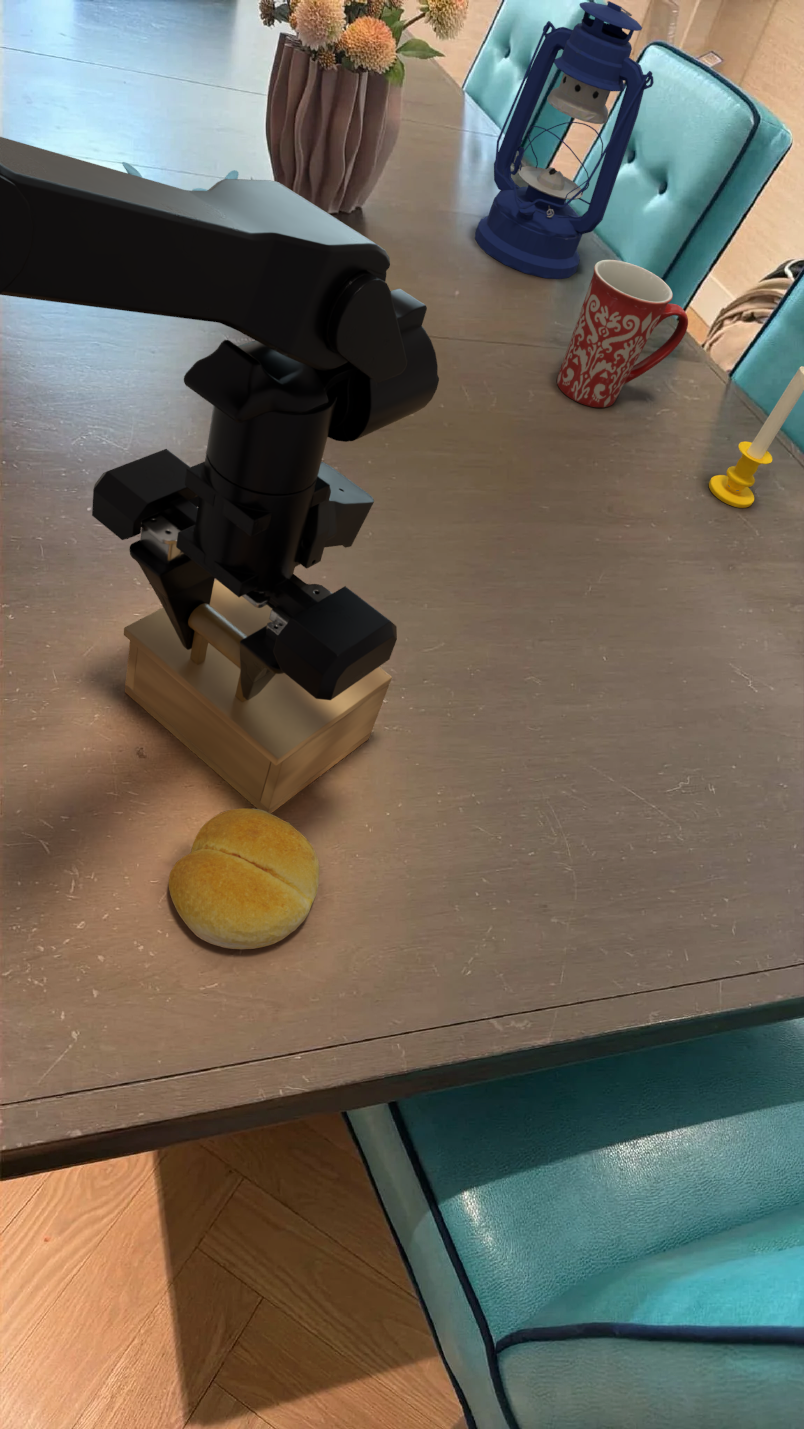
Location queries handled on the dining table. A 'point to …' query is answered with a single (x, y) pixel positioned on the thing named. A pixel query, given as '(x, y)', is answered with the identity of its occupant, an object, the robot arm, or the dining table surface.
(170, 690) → the storage box
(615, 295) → the mug
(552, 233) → the lantern
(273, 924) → the bread roll
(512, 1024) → the dining table surface
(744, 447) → the candle
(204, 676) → the box door
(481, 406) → the dining table surface
